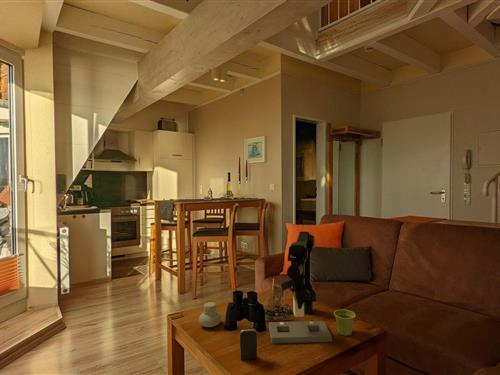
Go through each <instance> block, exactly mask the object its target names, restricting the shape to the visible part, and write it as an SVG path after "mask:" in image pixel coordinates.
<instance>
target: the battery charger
mask: <svg viewBox="0 0 500 375" xmlns="http://www.w3.org/2000/svg"><path fill="white" fill-rule="evenodd" d="M239 356H240V357H239V359H240V360H241V361H242V360H244V361H245V360H250V361H251V360H257V359H258V332H257V329H256V328H254V327H243V328H241V329H240V331H239Z"/></svg>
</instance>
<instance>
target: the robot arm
mask: <svg viewBox="0 0 500 375" xmlns="http://www.w3.org/2000/svg"><path fill="white" fill-rule="evenodd" d="M315 246H316V239H315V236H314V235H313V234H311V233H310V231H303V230H301V231H299V234H298V236H297V239H296V241H295V242H292V243H291V244H290V246H289V247H288V254H287V262H290V265H289V266H288V268H287V270H286V275H287V276H288V277H286V278H283V279H280V280H279V281H278V283H279V285H280V287H281V290H282V291H286V290H288V289H290V291H291V292H292V296H294V297H295V298H296V299H297V305H298V309H301V307H302V305H303V303H304V315H305V314H306V315H309V314H311V315H312V314H313V315H314V314H316V312H315V310H314V303H315V302H317V301H318V298H317V292H316V290H315V285H314V284H313V282H312V272H311V271H312V252H313V250H314V249H315Z"/></svg>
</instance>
